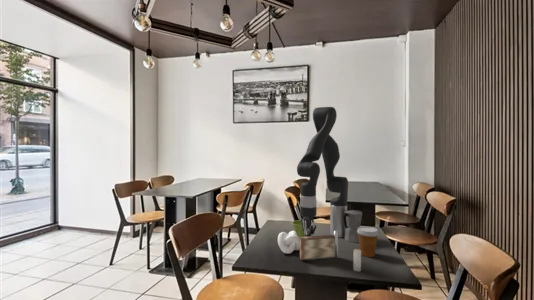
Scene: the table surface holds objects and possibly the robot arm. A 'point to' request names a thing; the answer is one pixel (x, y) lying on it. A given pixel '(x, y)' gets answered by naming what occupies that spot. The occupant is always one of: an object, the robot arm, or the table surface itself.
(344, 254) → the table surface
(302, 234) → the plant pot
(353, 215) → the coffeepot
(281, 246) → the white decorative knot
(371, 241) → the disposable coffee cup
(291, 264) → the table surface
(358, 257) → the post
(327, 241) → the brown flat block
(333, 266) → the table surface
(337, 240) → the translucent grey rod
